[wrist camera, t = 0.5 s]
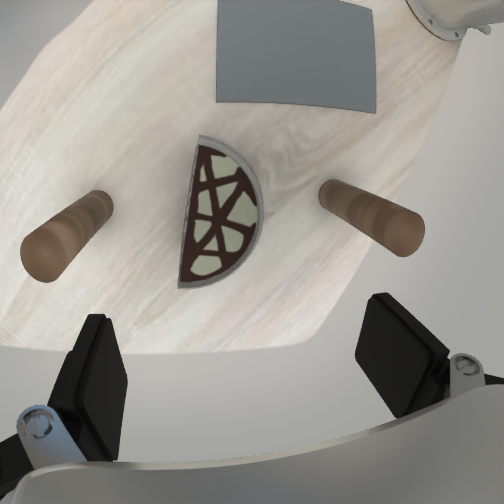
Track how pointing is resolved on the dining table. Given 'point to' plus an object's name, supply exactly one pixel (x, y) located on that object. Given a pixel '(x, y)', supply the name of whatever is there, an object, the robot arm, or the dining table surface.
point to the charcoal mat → (296, 53)
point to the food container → (219, 215)
